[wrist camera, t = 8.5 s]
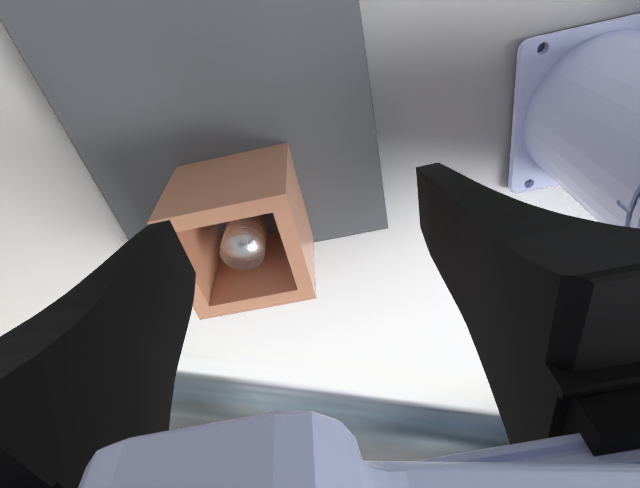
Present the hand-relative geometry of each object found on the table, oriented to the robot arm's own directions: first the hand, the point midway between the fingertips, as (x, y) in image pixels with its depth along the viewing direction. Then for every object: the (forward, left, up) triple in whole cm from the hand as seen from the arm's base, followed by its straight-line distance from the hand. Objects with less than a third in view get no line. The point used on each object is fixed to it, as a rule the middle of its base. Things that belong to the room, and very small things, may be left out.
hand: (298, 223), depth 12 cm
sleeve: (+4, +4, -9) cm, 10 cm away
